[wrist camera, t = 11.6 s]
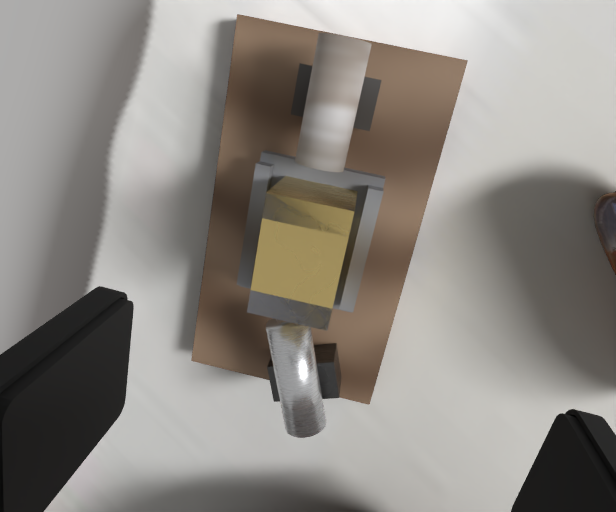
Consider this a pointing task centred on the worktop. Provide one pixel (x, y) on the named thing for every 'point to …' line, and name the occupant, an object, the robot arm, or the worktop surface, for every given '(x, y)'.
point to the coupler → (301, 251)
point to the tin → (607, 225)
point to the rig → (323, 181)
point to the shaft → (301, 376)
